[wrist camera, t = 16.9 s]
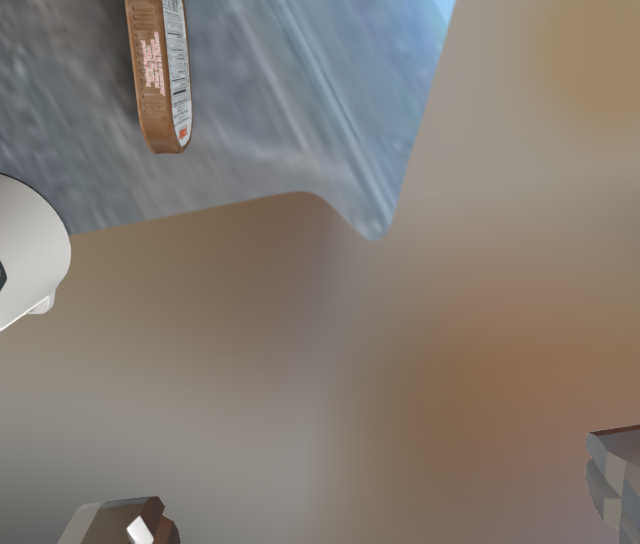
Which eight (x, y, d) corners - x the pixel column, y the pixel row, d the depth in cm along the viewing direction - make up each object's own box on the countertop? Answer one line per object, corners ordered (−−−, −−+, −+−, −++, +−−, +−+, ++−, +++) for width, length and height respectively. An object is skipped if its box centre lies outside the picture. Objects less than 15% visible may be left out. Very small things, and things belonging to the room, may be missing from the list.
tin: (152, -38, 38) (107, -61, 30) (189, -37, 38) (153, -59, 30) (170, 144, 45) (136, 163, 37) (202, 146, 45) (174, 165, 37)
